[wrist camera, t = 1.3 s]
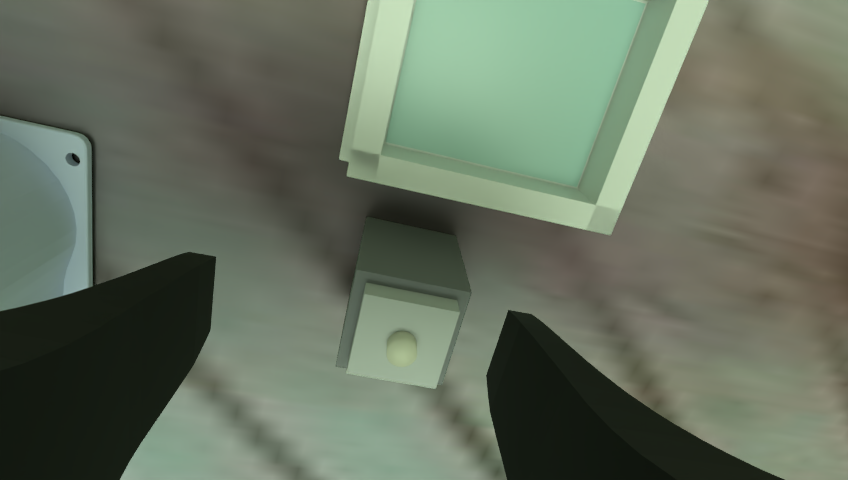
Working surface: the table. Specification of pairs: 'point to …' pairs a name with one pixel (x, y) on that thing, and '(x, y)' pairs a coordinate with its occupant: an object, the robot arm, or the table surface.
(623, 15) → the pale green compartment tray
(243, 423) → the table surface
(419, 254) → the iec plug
